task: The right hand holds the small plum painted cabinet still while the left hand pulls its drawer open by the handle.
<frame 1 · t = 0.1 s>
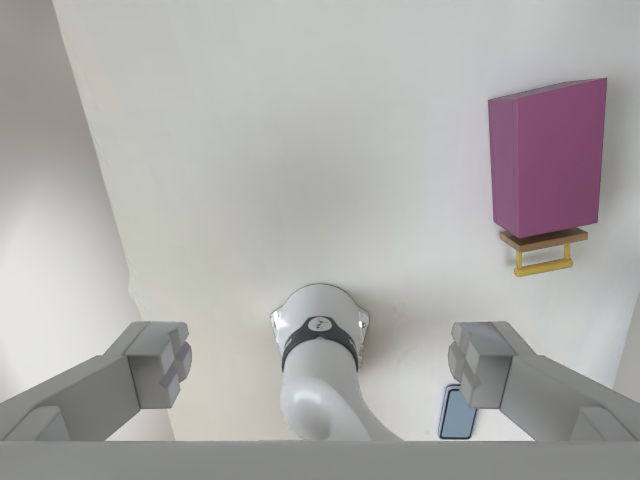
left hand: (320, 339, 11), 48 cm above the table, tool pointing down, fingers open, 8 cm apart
drawer: (541, 202, 54), point 4 cm above the table, slide at 1.8 cm
cabinet: (526, 156, 56), on the table
smartphone: (458, 410, 75), on the table
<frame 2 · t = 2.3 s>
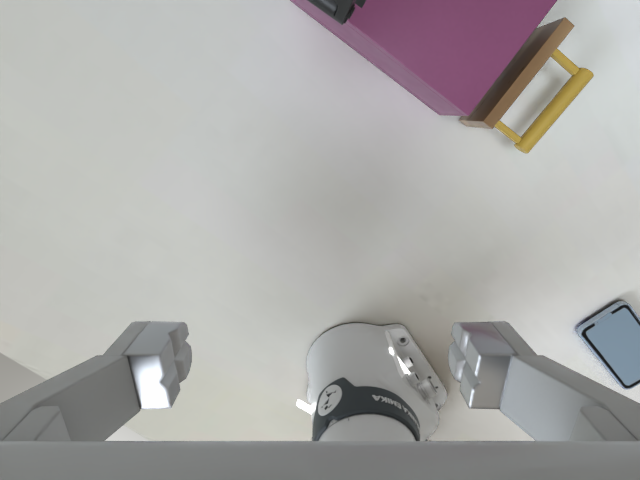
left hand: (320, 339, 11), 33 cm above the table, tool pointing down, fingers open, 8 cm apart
drawer: (465, 41, 33), point 4 cm above the table, slide at 1.8 cm
cabinet: (401, 9, 35), on the table
smartphone: (620, 344, 50), on the table
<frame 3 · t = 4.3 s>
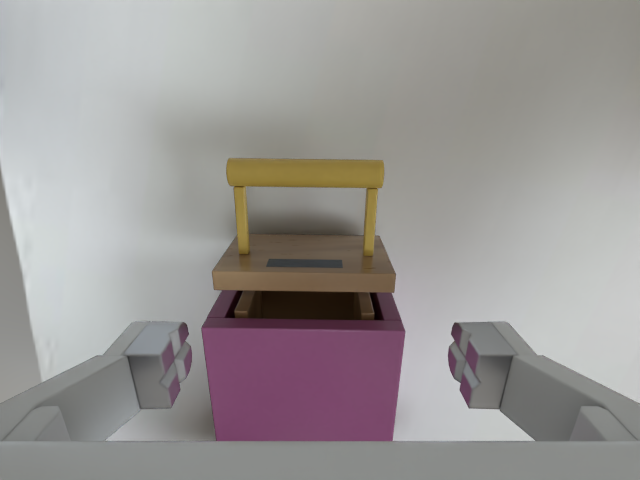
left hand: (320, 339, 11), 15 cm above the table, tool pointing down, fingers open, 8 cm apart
drawer: (306, 335, 24), point 4 cm above the table, slide at 1.8 cm
cabinet: (309, 369, 30), on the table, touching right hand
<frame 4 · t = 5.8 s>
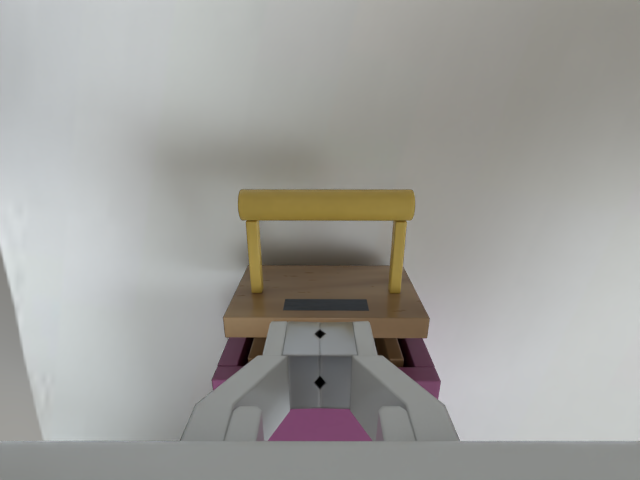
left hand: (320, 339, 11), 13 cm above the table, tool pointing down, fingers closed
drawer: (325, 376, 22), point 4 cm above the table, slide at 1.8 cm
cabinet: (324, 403, 28), on the table, touching right hand
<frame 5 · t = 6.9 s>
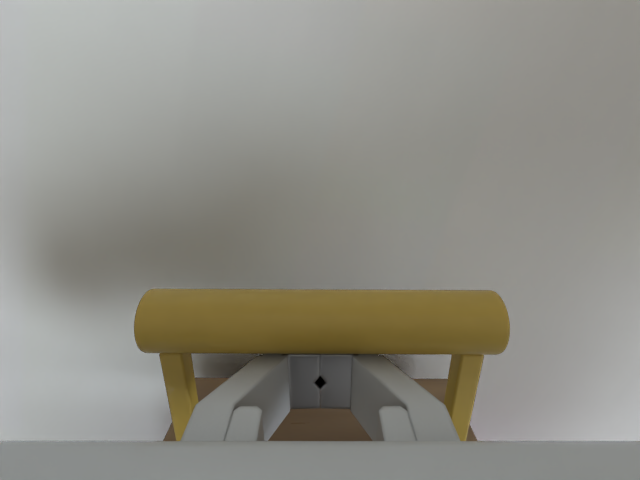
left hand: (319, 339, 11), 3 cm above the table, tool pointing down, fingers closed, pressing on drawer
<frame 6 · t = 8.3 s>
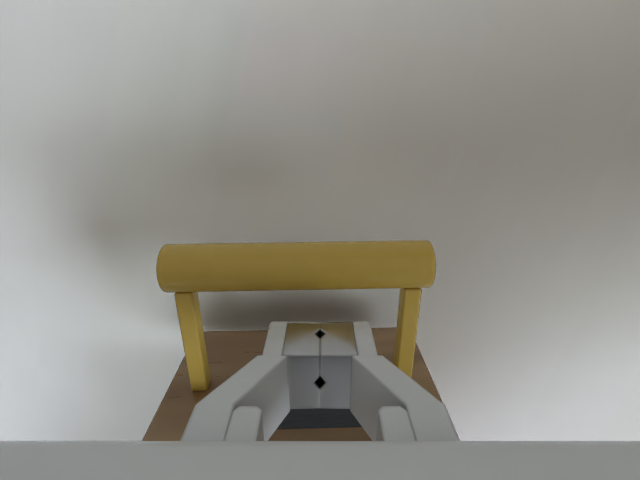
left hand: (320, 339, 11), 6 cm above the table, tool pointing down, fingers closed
when the right hand's fingers open (4 cm above the table, at t = 9.7 s): cabinet stays where it is, on the table.
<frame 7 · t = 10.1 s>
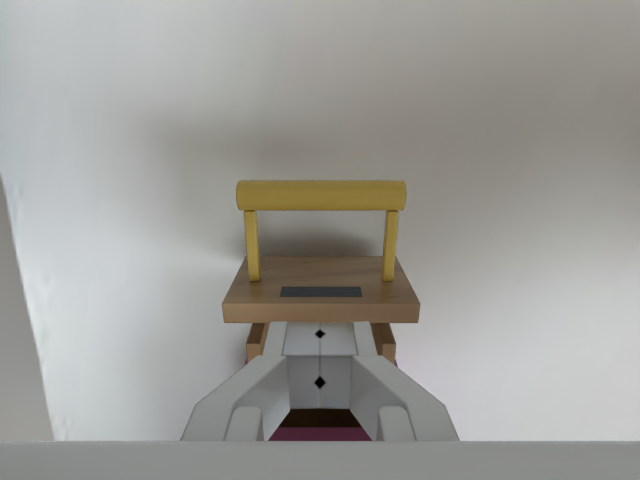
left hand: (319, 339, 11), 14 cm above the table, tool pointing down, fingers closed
drawer: (320, 363, 23), point 4 cm above the table, slide at 7.3 cm
cabinet: (320, 440, 31), on the table
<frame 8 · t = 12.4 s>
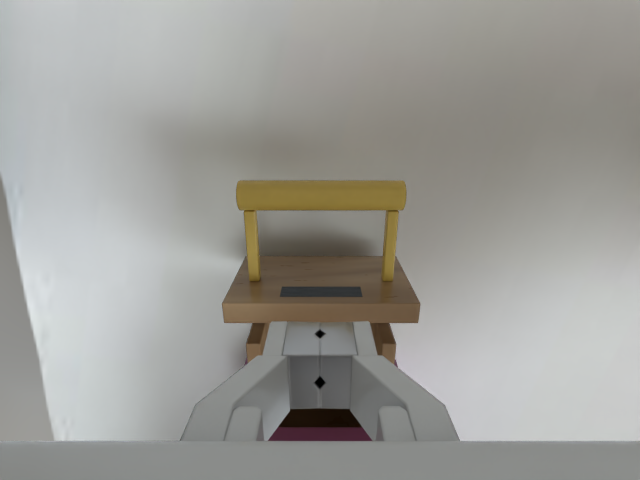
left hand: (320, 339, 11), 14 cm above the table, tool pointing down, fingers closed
drawer: (320, 363, 23), point 4 cm above the table, slide at 7.3 cm
cabinet: (320, 440, 31), on the table
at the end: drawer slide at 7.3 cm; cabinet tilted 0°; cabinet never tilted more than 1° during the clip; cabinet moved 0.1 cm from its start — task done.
